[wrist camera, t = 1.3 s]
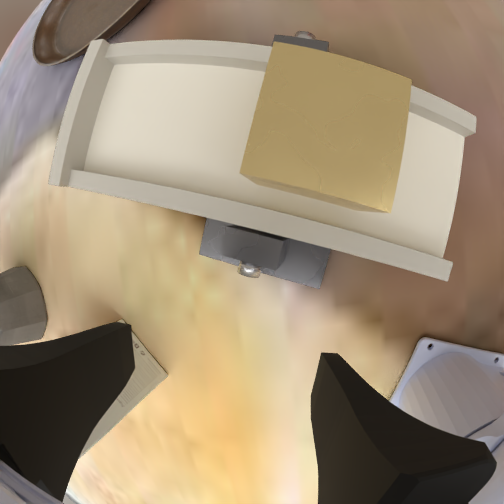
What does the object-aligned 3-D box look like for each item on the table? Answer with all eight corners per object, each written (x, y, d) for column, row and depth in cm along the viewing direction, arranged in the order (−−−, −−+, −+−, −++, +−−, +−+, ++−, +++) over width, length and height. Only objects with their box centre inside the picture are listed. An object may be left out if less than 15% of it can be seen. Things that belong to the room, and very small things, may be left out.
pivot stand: (366, 71, 16) (375, 37, 12) (319, 285, 19) (318, 306, 14) (255, 52, 17) (238, 18, 13) (205, 252, 20) (173, 262, 16)
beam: (456, 126, 13) (484, 113, 10) (428, 271, 15) (455, 285, 11) (116, 59, 15) (91, 40, 12) (81, 185, 16) (48, 184, 13)
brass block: (375, 116, 13) (411, 79, 8) (356, 210, 13) (390, 213, 9) (279, 91, 13) (274, 41, 8) (256, 184, 14) (239, 173, 9)
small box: (123, 316, 23) (-1, 378, 10) (170, 375, 22) (69, 471, 10) (86, 356, 25) (-9, 412, 12) (125, 406, 24) (42, 479, 12)
